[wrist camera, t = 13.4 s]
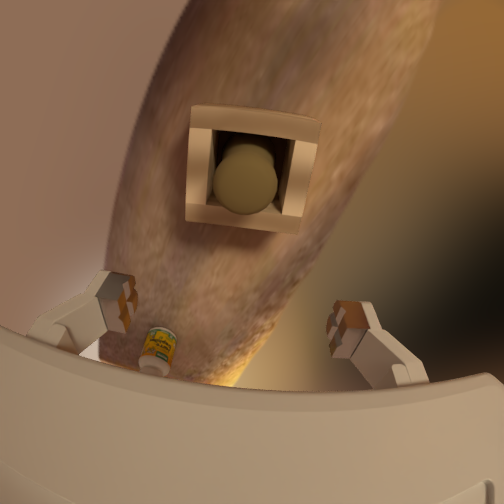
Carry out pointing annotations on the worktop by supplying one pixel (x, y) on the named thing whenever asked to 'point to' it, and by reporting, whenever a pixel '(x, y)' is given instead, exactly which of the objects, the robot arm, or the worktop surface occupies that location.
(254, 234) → the worktop surface
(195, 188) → the shaker holder
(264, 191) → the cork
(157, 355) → the supplement bottle
